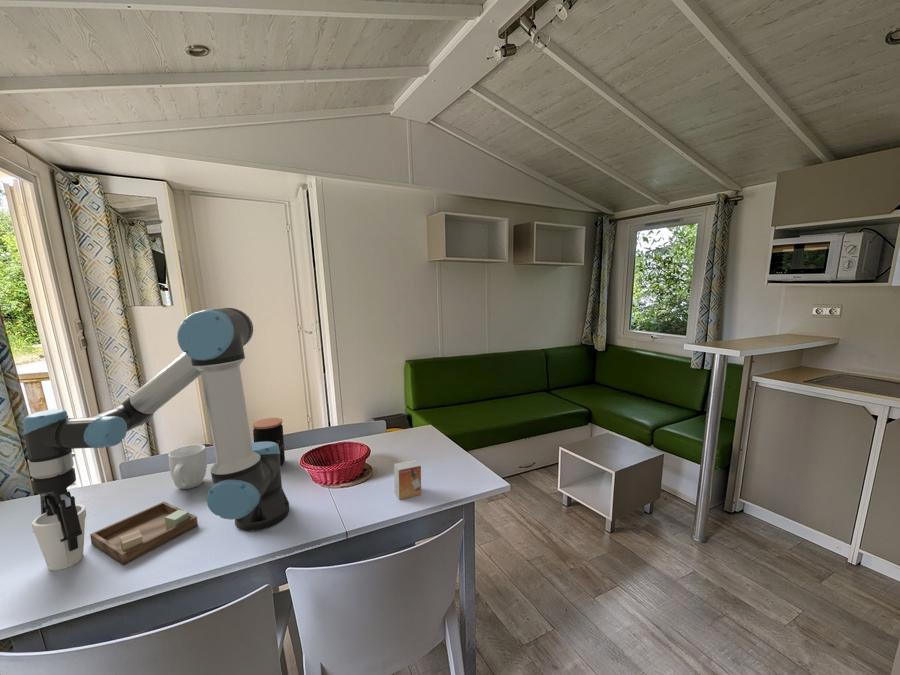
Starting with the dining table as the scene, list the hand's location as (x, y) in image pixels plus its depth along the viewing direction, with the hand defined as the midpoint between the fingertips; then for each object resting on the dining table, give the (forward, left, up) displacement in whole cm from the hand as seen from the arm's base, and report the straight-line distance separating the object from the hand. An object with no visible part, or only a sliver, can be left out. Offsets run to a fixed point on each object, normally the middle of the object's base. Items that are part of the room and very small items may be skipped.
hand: (65, 554), depth 96 cm
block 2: (-12, -21, -1) cm, 24 cm away
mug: (+12, -36, -2) cm, 38 cm away
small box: (-61, -67, -2) cm, 91 cm away
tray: (-6, -15, -2) cm, 16 cm away
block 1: (-12, -10, -1) cm, 15 cm away
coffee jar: (0, -60, -2) cm, 60 cm away
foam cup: (0, 0, -2) cm, 2 cm away
